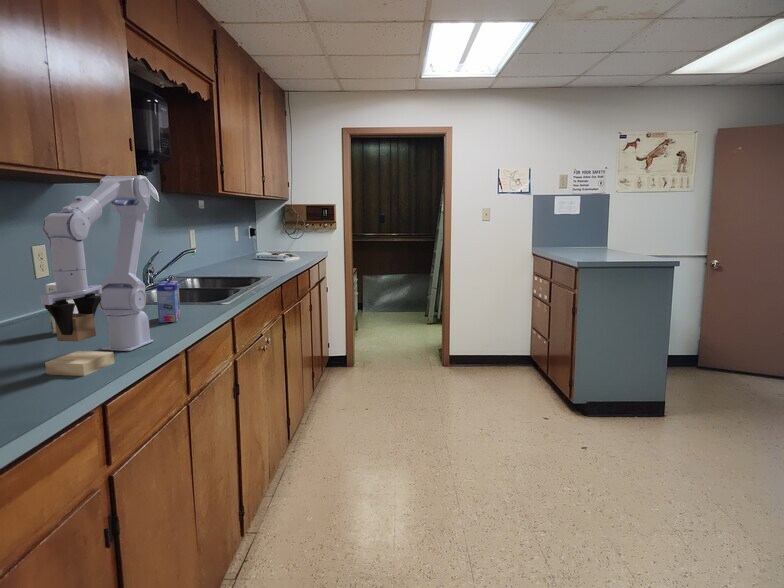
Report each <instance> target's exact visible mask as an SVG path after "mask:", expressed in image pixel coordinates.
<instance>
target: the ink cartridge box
mask: <svg viewBox="0 0 784 588" xmlns="http://www.w3.org/2000/svg"><path fill="white" fill-rule="evenodd" d="M173 276H174V274H171V276H170V277H169V279H168V280H164V281H163V280H162V281H160V282H159V283H158V284H157V285H156V299H157V301H156V302H157V316H158V318H157V319H158V324H159V323H161V324H164V323H165V322H175V323H177V322H178V320H179V319H180V318H181V306H180V304H181V303H180V285H179V283H180V282H179V280H172V278H173ZM179 317H180V318H179ZM178 318H179V319H178ZM176 321H177V322H176ZM165 324H166V323H165Z"/></svg>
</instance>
